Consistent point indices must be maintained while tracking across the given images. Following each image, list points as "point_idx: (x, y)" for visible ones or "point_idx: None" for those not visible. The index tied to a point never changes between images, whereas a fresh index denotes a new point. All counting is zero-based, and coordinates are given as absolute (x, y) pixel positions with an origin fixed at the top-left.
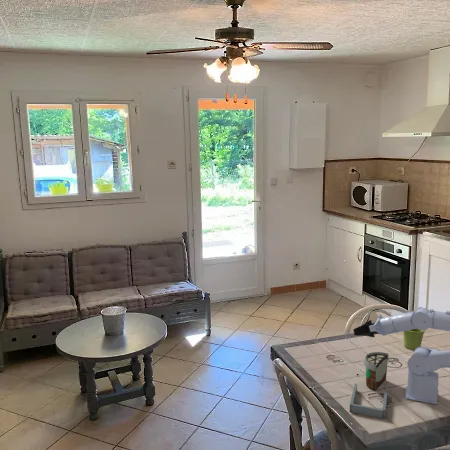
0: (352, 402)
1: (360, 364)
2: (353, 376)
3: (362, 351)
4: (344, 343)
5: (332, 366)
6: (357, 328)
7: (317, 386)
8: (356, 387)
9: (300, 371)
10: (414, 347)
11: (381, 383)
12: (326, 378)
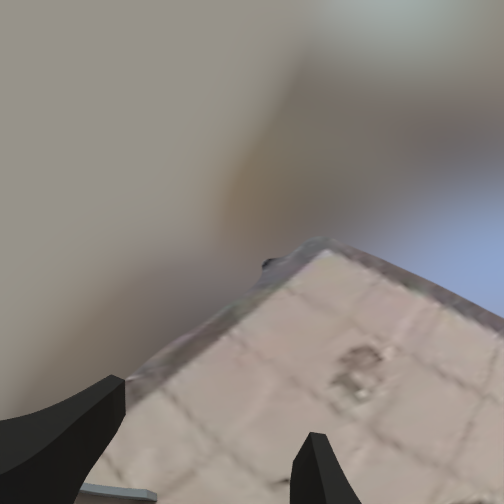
0: None
1: (374, 461)
2: (260, 474)
3: (470, 416)
4: (474, 347)
5: (298, 389)
6: (82, 398)
7: (141, 386)
8: (122, 495)
9: (213, 323)
10: None
11: None
12: (200, 398)
